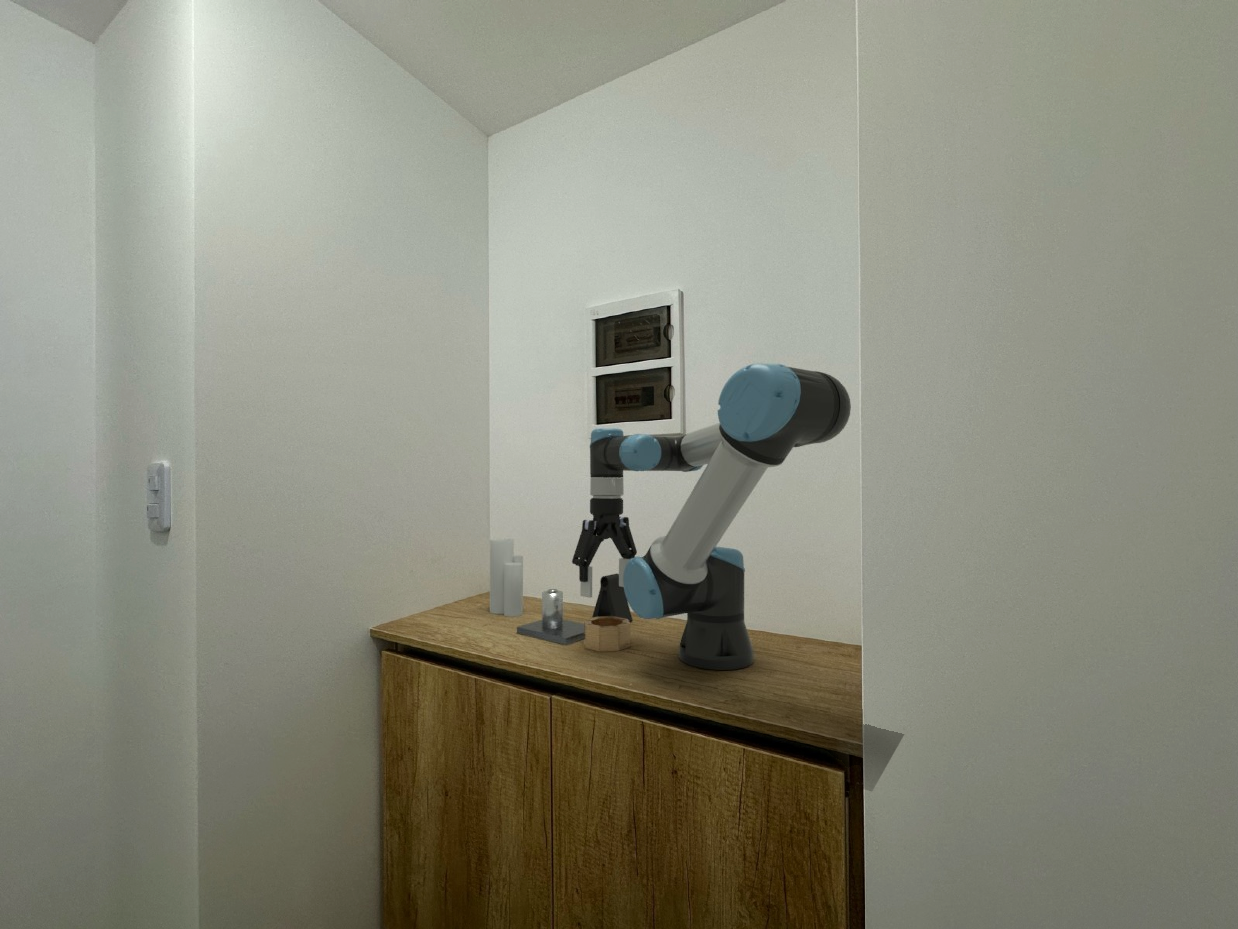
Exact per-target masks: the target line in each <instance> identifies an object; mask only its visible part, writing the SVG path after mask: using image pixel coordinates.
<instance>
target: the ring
mask: <svg viewBox="0 0 1238 929" xmlns="http://www.w3.org/2000/svg"><path fill="white" fill-rule="evenodd" d="M583 624H584V639H583V644H584V648H585V649H587V650H591V651H596V652H600V653H601V652H619V651H623V650H624V649H627V648H629V647H631V622H629V620H628V619H625V618H620V617H615V616H605V617H594V618H592V617H590V618H587V619H584V620H583Z"/></svg>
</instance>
